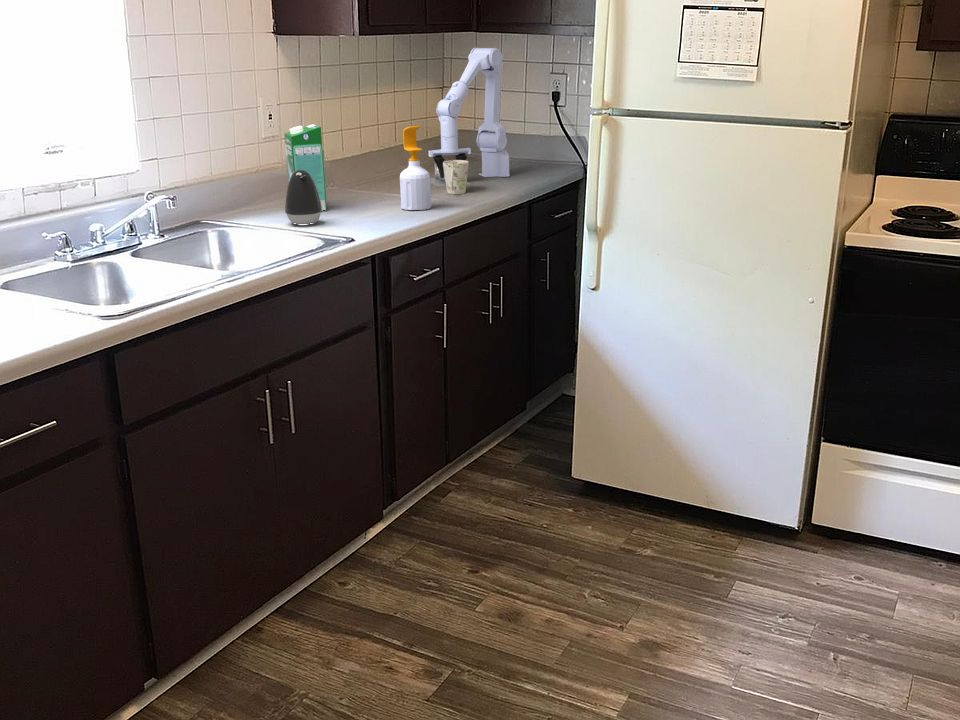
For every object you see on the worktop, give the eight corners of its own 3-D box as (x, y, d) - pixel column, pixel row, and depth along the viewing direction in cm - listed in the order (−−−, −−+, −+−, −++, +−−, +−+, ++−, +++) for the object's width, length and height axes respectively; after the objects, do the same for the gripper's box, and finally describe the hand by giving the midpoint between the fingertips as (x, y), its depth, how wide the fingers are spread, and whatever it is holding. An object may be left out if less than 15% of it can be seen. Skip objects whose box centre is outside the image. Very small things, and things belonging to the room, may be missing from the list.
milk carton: (290, 209, 298) (283, 125, 289) (319, 206, 301) (313, 123, 293) (297, 214, 290) (290, 128, 282) (327, 211, 293) (321, 126, 285)
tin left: (445, 176, 346) (445, 162, 344) (449, 178, 342) (448, 164, 340) (433, 177, 345) (432, 163, 343) (436, 179, 341) (436, 164, 339)
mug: (470, 190, 323) (469, 160, 319) (466, 197, 311) (465, 165, 308) (445, 190, 324) (444, 160, 320) (440, 197, 312) (439, 165, 308)
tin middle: (450, 179, 341) (450, 164, 339) (453, 181, 337) (453, 166, 335) (437, 180, 340) (437, 165, 338) (440, 182, 336) (440, 167, 334)
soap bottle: (408, 212, 289) (404, 127, 281) (396, 207, 297) (392, 125, 289) (435, 209, 293) (433, 125, 285) (423, 204, 301) (420, 123, 293)
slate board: (455, 177, 348) (455, 176, 347) (470, 185, 331) (470, 183, 331) (423, 180, 344) (423, 178, 344) (436, 188, 328) (436, 186, 328)
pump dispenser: (291, 229, 270) (286, 174, 265) (282, 222, 279) (278, 168, 274) (327, 225, 274) (323, 171, 269) (317, 218, 283) (313, 166, 278)
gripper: (465, 133, 333) (466, 173, 338) (425, 136, 328) (426, 176, 333) (472, 136, 327) (473, 176, 332) (431, 138, 322) (433, 179, 327)
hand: (450, 177), depth 332 cm, fingers open, 5 cm apart
